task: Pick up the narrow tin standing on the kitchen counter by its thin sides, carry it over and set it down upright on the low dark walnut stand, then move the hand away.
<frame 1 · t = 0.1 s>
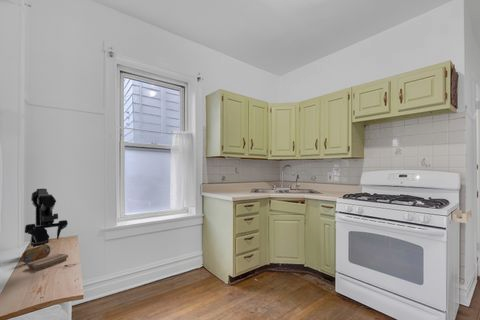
hand: (47, 240, 134), 15 cm above the table, tool tilted 30°, fingers open, 9 cm apart
stand: (48, 264, 139), on the table
tin: (36, 261, 144), on the table
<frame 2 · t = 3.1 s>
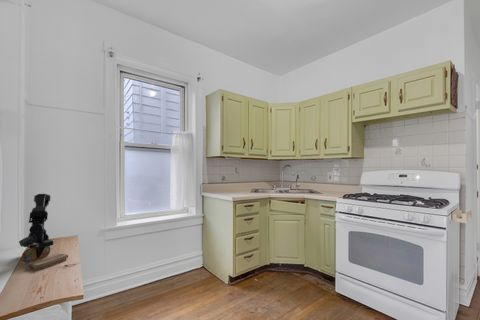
hand: (36, 257, 144), 2 cm above the table, tool pointing down, fingers closed on tin, 3 cm apart
tin: (35, 260, 144), on the table, touching gripper
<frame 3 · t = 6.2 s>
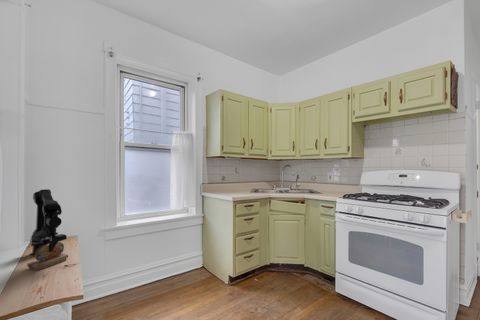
hand: (49, 251, 139), 7 cm above the table, tool pointing down, fingers closed on tin, 2 cm apart
tin: (48, 258, 139), point 3 cm above the table, touching gripper, stand
when the fingers open (6 cm above the table, at t = 7.0 s): tin stays where it is, resting on stand.
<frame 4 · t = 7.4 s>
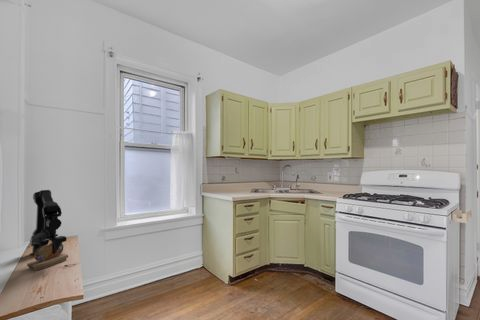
hand: (48, 253, 139), 6 cm above the table, tool pointing down, fingers open, 7 cm apart
tin: (48, 258, 139), point 3 cm above the table, touching stand
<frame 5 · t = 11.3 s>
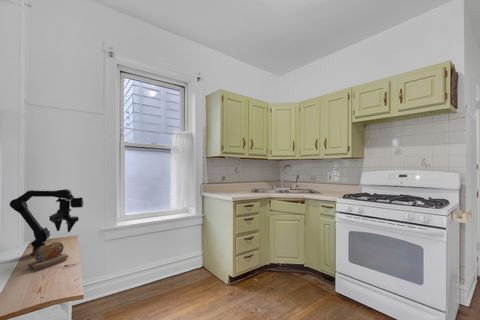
hand: (63, 231, 161), 13 cm above the table, tool pointing down, fingers open, 9 cm apart
nothing on the table moved.
at the end: tin 0.8 cm off-centre on the stand, point 2.8 cm above the stand's base; tin tilted 0°; the gripper is holding nothing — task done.
